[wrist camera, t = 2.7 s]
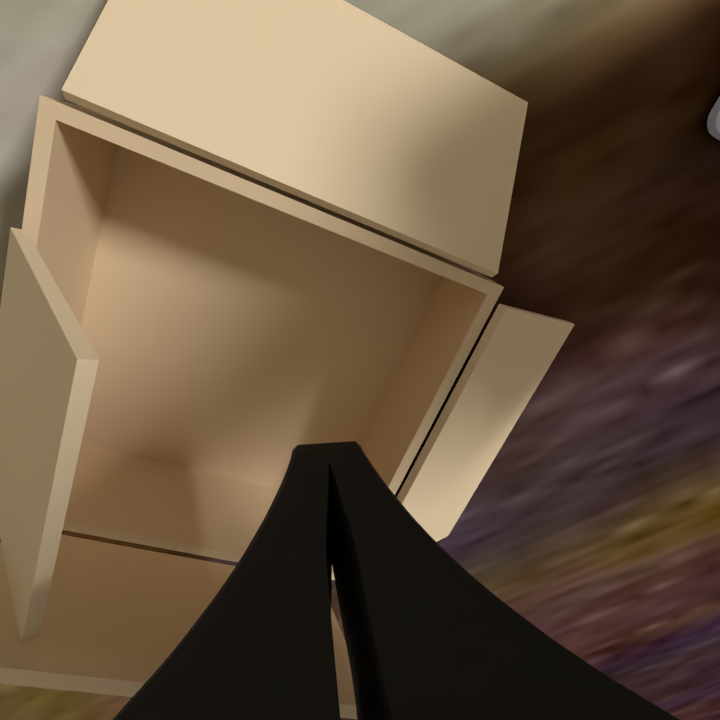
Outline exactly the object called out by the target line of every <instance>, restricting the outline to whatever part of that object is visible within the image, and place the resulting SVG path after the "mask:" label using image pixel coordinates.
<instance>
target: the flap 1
mask: <svg viewBox="0 0 720 720" xmlns="http://www.w3.org/2000/svg"><path fill="white" fill-rule="evenodd" d="M98 363H99V358H98V357H97V355H96V353H95V351H94V350H93V348H92V346H91V344H90V342H89V341H88V339H87V337H86V335H85V334H84V332H83V330H82V328H81V327H80V325H79V323H78V321H77V319H76V318H75V316H74V314H73V312H72V311H71V309H70V307H69V305H68V303H67V302H66V300H65V298H64V296H63V295H62V293H61V291H60V289H59V288H58V286H57V284H56V282H55V280H54V279H53V277H52V275H51V273H50V272H49V270H48V268H47V266H46V265H45V263H44V261H43V259H42V257H41V256H40V254H39V252H38V250H37V249H36V247H35V245H34V243H33V242H32V240H31V238H30V236H29V234H28V233H27V231H26V230H22V229H17V228H12V227H10V234H9V242H8V250H7V258H6V266H5V274H4V282H3V290H2V297H1V305H0V539H1V544H2V549H3V554H4V559H5V564H6V569H7V574H8V579H9V584H10V589H11V594H12V599H13V604H14V609H15V614H16V619H17V624H18V629H19V634H20V639H21V643H22V642H25V641H28V640H30V639H33V638H36V637H39V636H40V632H41V627H42V623H43V618H44V613H45V609H46V604H47V599H48V595H49V590H50V586H51V581H52V576H53V572H54V567H55V562H56V558H57V553H58V548H59V544H60V539H61V535H62V530H63V525H64V521H65V516H66V511H67V507H68V502H69V497H70V493H71V488H72V484H73V479H74V474H75V470H76V465H77V460H78V456H79V451H80V447H81V442H82V437H83V433H84V428H85V423H86V419H87V414H88V409H89V405H90V400H91V396H92V391H93V386H94V382H95V377H96V372H97V368H98Z"/></svg>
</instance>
